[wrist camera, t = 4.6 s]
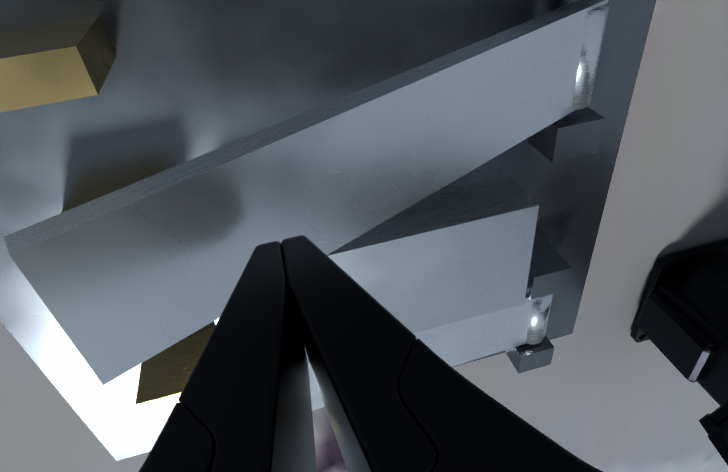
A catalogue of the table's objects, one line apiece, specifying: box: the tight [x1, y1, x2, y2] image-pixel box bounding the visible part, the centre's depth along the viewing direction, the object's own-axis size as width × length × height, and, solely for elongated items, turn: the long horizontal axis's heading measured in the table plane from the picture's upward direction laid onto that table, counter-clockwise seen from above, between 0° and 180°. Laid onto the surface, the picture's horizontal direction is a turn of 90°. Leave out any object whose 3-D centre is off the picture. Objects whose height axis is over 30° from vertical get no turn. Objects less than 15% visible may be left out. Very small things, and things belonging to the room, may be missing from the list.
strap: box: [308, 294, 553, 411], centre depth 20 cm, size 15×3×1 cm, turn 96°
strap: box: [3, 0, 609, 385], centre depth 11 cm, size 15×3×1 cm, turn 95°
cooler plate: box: [0, 0, 656, 461], centre depth 17 cm, size 22×19×5 cm
